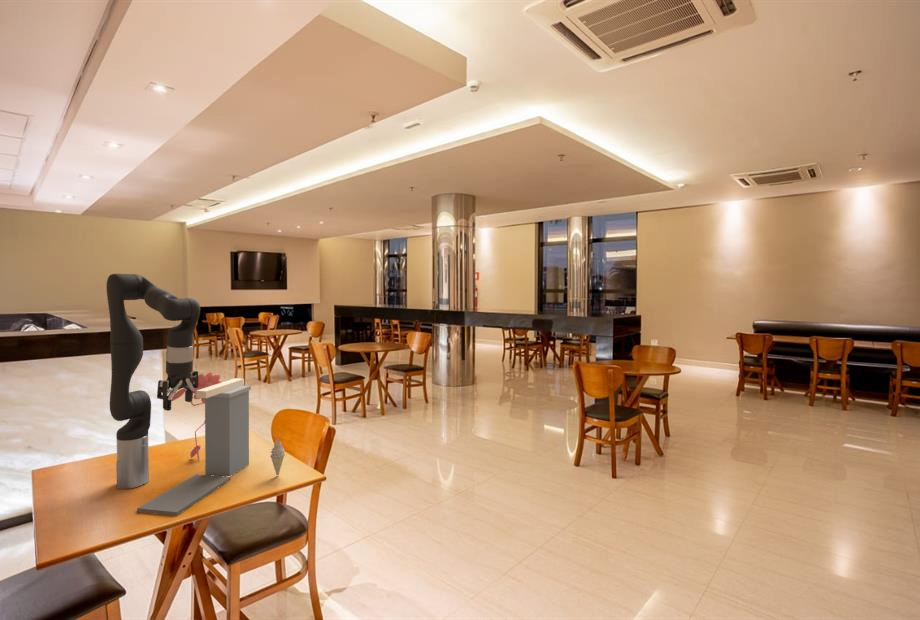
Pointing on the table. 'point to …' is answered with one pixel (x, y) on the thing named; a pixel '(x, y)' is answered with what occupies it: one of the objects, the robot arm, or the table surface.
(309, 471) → the table surface
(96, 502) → the table surface
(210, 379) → the figurine
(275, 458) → the ice cream cone
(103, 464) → the table surface
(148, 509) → the mat
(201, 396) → the slat
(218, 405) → the pedestal
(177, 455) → the table surface
